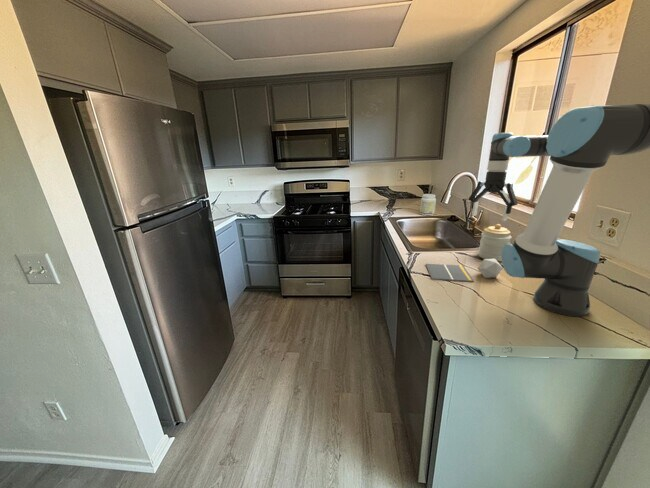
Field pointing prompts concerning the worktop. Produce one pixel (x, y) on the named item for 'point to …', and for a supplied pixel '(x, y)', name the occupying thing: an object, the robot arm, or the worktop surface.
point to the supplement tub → (428, 204)
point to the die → (490, 268)
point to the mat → (449, 272)
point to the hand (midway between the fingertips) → (488, 218)
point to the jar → (493, 242)
